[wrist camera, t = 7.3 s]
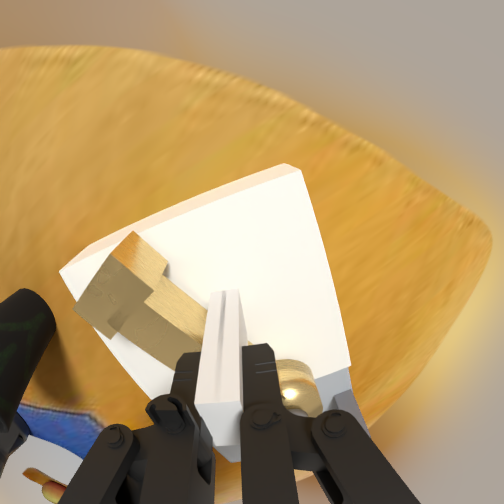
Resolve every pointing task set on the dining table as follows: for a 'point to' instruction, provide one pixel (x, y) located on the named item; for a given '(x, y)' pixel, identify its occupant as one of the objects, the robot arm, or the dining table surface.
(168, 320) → the bar
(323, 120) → the dining table surface
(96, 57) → the dining table surface
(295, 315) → the doorframe
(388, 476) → the robot arm
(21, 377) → the cup
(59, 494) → the apple
